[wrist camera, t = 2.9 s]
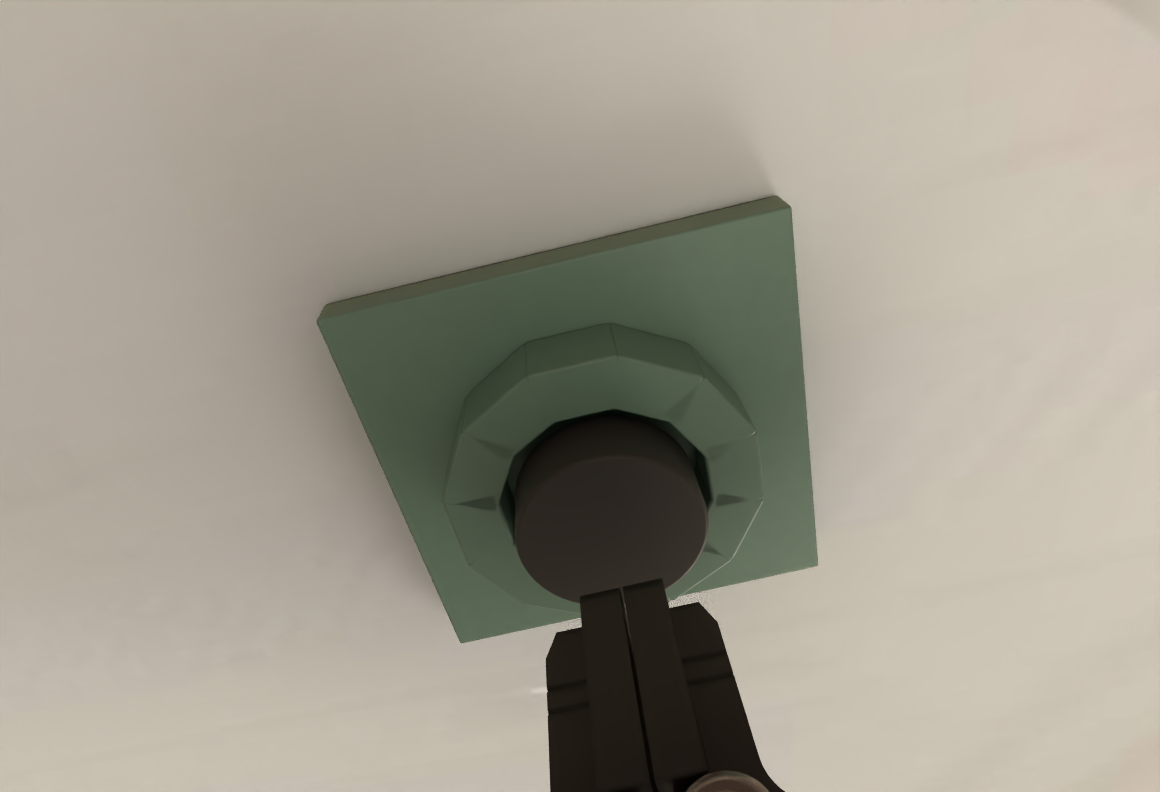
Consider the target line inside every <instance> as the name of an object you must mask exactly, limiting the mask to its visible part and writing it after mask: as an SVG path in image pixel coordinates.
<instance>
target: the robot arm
mask: <svg viewBox="0 0 1160 792" xmlns="http://www.w3.org/2000/svg"><path fill="white" fill-rule="evenodd" d="M623 593H624V599H625V604H624V601H623V597H622V593H621V590H620V588H615V589H610V590H606V591H601V592H597V593H592V594H587V595H583V596H580V610H581V621H582V627H581V628H576V629H571V630H567V631H562V632H557V633H556V635H555V638H554V640H553V643H552V645H551V648H550V650H549V653H548V655H547V658H546V677H547V690H548V692H547V705H548V714H549V716H548V733H549V762H550V790H551V792H785V791H783V790H782V789H781V788H780V787H778V786H777V785H776V784H775V783H774V782H773V781H772V779H771V778H770V777H769V776H768V774H767V773H766V771H765V769H764V768H763V766H762V763H761V761H760V758H759V755H758V752H757V749H756V745H755V742H754V739H753V736H752V733H751V729H750V726H749V723H748V720H747V716H746V713H745V710H744V707H743V703H742V700H741V697H740V694H739V690H738V687H737V684H736V681H735V677H734V675H733V671H732V668H731V664H730V661H729V658H728V655H727V652H726V648H725V645H724V642H723V639H722V635H721V632H720V629H719V626H718V622H717V621H716V620H715V619H714V618H713V617H712V616H711V615H710V614H709V613H708V612H707V611H706V609H705V608H704V607H703V606H702V605H701V604H700V603H699V602H696V603H692V604H687V605H682V606H678V607H673V608H669V605H668V601H667V597H666V592H665V588H664V584H663V580H662V578H660V579H656V580H651V581H646V582H642V583H637V584H633V585H628V586H623ZM625 605H626V608H625ZM626 611H627V612H626Z"/></svg>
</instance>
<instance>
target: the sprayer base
mask: <svg viewBox="0 0 1160 792" xmlns="http://www.w3.org/2000/svg"><path fill="white" fill-rule="evenodd" d="M317 324H318V326H319V329H320V331H321V333H322V335H323V338H324V340H325V342H326V344H327V346H328V349H329V351H330V353H331V355H332V358H333V360H334V362H335V364H336V367H337V369H338V371H339V373H340V375H341V378H342V380H343V382H344V384H345V387H346V389H347V391H348V393H349V396H350V398H351V400H352V402H353V404H354V407H355V409H356V411H357V413H358V416H359V418H360V420H361V422H362V425H363V427H364V429H365V431H366V433H367V436H368V438H369V440H370V442H371V445H372V447H373V449H374V451H375V453H376V456H377V458H378V460H379V462H380V465H381V467H382V469H383V471H384V474H385V476H386V478H387V480H388V482H389V485H390V487H391V489H392V491H393V494H394V496H395V498H396V500H397V503H398V505H399V507H400V509H401V511H402V514H403V516H404V518H405V520H406V523H407V525H408V527H409V529H410V531H411V534H412V536H413V538H414V540H415V543H416V545H417V547H418V549H419V552H420V554H421V556H422V558H423V560H424V563H425V565H426V567H427V569H428V572H429V574H430V576H431V578H432V581H433V583H434V585H435V587H436V589H437V592H438V594H439V596H440V598H441V601H442V603H443V605H444V607H445V610H446V612H447V614H448V616H449V618H450V621H451V623H452V625H453V627H454V630H455V632H456V634H457V636H458V638H459V641H460V643H465V642H470V641H474V640H479V639H484V638H488V637H493V636H498V635H502V634H507V633H511V632H516V631H521V630H525V629H530V628H534V627H539V626H544V625H548V624H553V623H557V622H562V621H567V620H571V619H576V618H581V610H580V604H579V603H575V602H571V601H568V600H565V599H562V598H560V597H558V596H556V595H554V594H552V593H550V592H549V591H547V590H546V589H544V588H543V587H542V586H540V585H539V584H538V583H537V582H536V581H535V580H534V579H533V578H532V577H531V576H530V575H529V573H528V572H527V571H526V569H525V567H524V566H523V564H522V562H521V560H520V558H519V556H518V552H517V549H516V544H515V490H516V483H517V478H518V475H519V472H520V470H521V467H522V465H523V464H524V462H525V460H526V459H527V457H528V456H529V454H530V453H531V452H532V451H533V450H534V448H535V447H536V446H537V445H538V444H539V443H540V442H541V441H543V440H544V439H545V438H546V437H548V436H549V435H550V434H552V433H553V432H555V431H557V430H559V429H560V428H562V427H564V426H567V425H569V424H571V423H574V422H577V421H580V420H584V419H588V418H594V417H601V416H621V417H628V418H634V419H638V420H641V421H644V422H647V423H649V424H652V425H654V426H656V427H658V428H660V429H661V430H663V431H664V432H666V433H667V434H669V435H670V436H671V437H672V438H674V439H675V440H676V441H677V442H678V444H679V445H680V446H681V447H682V448H683V450H684V451H685V453H686V454H687V456H688V458H689V460H690V462H691V465H692V468H693V470H694V473H695V476H696V479H697V481H698V484H699V487H700V490H701V493H702V495H703V498H704V501H705V504H706V508H707V511H708V520H709V526H708V534H707V538H706V542H705V545H704V548H703V550H702V553H701V555H700V556H699V558H698V560H697V561H696V563H695V564H694V565H693V567H692V568H691V569H690V570H689V572H688V573H686V574H685V575H684V576H683V577H682V578H681V579H680V580H679V581H678V582H676V583H675V584H674V585H672V586H671V587H669V588H668V589H666V590H665V592H666V597H667V601H668V602H669V601H671V600H675V599H676V598H678V597H679V596H682V595H687V594H691V593H696V592H700V591H705V590H710V589H714V588H719V587H723V586H728V585H733V584H737V583H742V582H747V581H751V580H756V579H760V578H765V577H770V576H774V575H779V574H783V573H788V572H793V571H797V570H802V569H806V568H811V567H816V566H818V557H817V544H816V530H815V517H814V504H813V491H812V477H811V464H810V451H809V437H808V424H807V411H806V398H805V384H804V371H803V358H802V344H801V331H800V318H799V304H798V291H797V278H796V265H795V251H794V238H793V225H792V211H791V207H790V206H789V205H788V204H787V203H786V202H784V201H783V200H782V199H781V198H780V197H778V196H774V197H770V198H766V199H762V200H758V201H754V202H750V203H745V204H741V205H737V206H733V207H729V208H725V209H721V210H716V211H712V212H708V213H704V214H700V215H696V216H692V217H688V218H683V219H679V220H675V221H671V222H667V223H663V224H659V225H654V226H650V227H646V228H642V229H638V230H634V231H630V232H625V233H621V234H617V235H613V236H609V237H605V238H601V239H597V240H592V241H588V242H584V243H580V244H576V245H572V246H568V247H563V248H559V249H555V250H551V251H547V252H543V253H539V254H535V255H530V256H526V257H522V258H518V259H514V260H510V261H506V262H501V263H497V264H493V265H489V266H485V267H481V268H477V269H472V270H468V271H464V272H460V273H456V274H452V275H448V276H444V277H439V278H435V279H431V280H427V281H423V282H419V283H415V284H410V285H406V286H402V287H398V288H394V289H390V290H386V291H381V292H377V293H373V294H369V295H365V296H361V297H357V298H353V299H348V300H344V301H340V302H336V303H332V304H328V305H326V306H325V307H324V309H323V311H322V312H321V314H320V316H319V317H318V319H317ZM625 608H626V605H625Z"/></svg>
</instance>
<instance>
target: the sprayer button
mask: <svg viewBox="0 0 1160 792" xmlns="http://www.w3.org/2000/svg"><path fill="white" fill-rule="evenodd" d="M708 526H709V520H708V511H707V508H706V504H705V501H704V498H703V495H702V493H701V490H700V487H699V484H698V481H697V479H696V476H695V473H694V470H693V468H692V465H691V462H690V460H689V458H688V456H687V454H686V453H685V451H684V450H683V448H682V447H681V446H680V445H679V444H678V442H677V441H676V440H675V439H674V438H672V437H671V436H670V435H669V434H667V433H666V432H664V431H663V430H661V429H660V428H658V427H656V426H654V425H652V424H649V423H647V422H644V421H641V420H638V419H634V418H628V417H621V416H601V417H594V418H588V419H584V420H580V421H577V422H574V423H571V424H569V425H567V426H564V427H562V428H560V429H559V430H557V431H555V432H553V433H552V434H550V435H549V436H548V437H546V438H545V439H544V440H543V441H541V442H540V443H539V444H538V445H537V446H536V447H535V448H534V450H533V451H532V452H531V453H530V454H529V456H528V457H527V459H526V460H525V462H524V464H523V465H522V467H521V470H520V472H519V475H518V478H517V483H516V490H515V544H516V549H517V552H518V556H519V558H520V560H521V562H522V564H523V566H524V567H525V569H526V571H527V572H528V573H529V575H530V576H531V577H532V578H533V579H534V580H535V581H536V582H537V583H538V584H539V585H540V586H542V587H543V588H544V589H546V590H547V591H549V592H550V593H552V594H554V595H556V596H558V597H560V598H562V599H565V600H568V601H571V602H575V603H579V604H580V596H583V595H587V594H592V593H597V592H601V591H606V590H610V589H615V588H620V590H621V593H622V597H623V601H624V604H625V599H624V593H623V586H628V585H633V584H637V583H642V582H646V581H651V580H656V579H660V578H662V580H663V584H664V588H665V590H666V589H668V588H669V587H671V586H672V585H674V584H675V583H676V582H678V581H679V580H680V579H681V578H682V577H683V576H684V575H685V574H686V573H688V572H689V570H690V569H691V568H692V567H693V565H694V564H695V563H696V561H697V560H698V558H699V556H700V555H701V553H702V550H703V548H704V545H705V542H706V538H707V534H708Z"/></svg>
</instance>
